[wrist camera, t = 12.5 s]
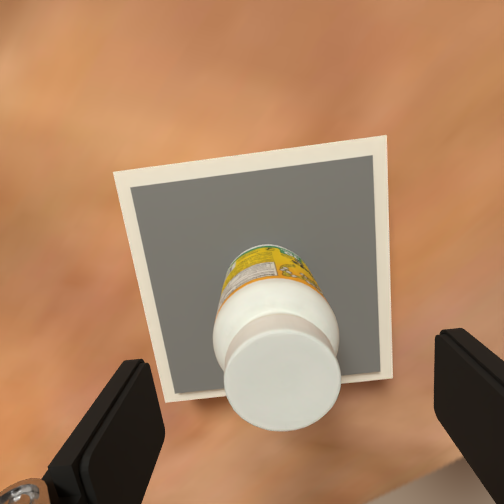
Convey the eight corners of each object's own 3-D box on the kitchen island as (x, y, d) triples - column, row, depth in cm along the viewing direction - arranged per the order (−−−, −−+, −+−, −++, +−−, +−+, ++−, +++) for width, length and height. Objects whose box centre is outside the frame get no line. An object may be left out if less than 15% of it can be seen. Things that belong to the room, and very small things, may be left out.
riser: (361, 141, 23) (390, 134, 18) (370, 344, 27) (395, 382, 22) (139, 171, 23) (109, 172, 18) (179, 365, 27) (163, 407, 22)
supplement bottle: (210, 263, 20) (173, 346, 10) (291, 228, 19) (328, 282, 10) (246, 336, 21) (242, 468, 12) (323, 305, 20) (383, 417, 11)
